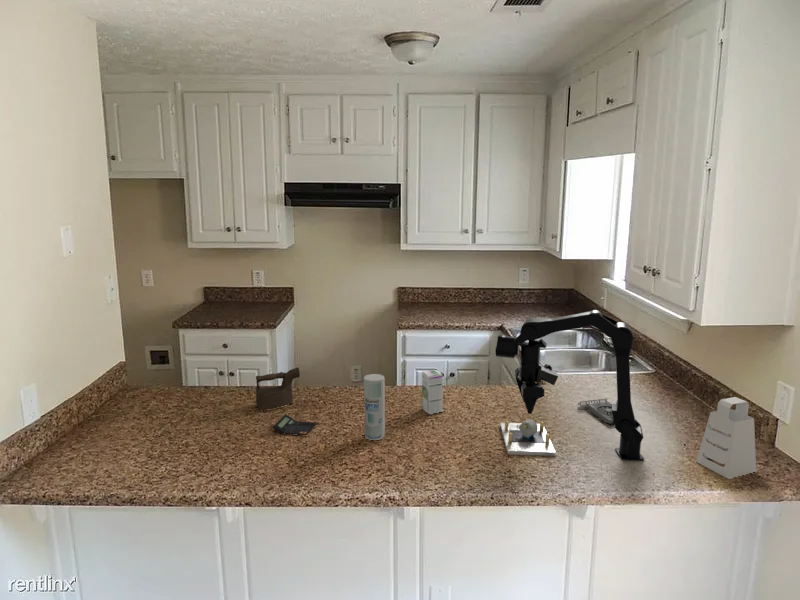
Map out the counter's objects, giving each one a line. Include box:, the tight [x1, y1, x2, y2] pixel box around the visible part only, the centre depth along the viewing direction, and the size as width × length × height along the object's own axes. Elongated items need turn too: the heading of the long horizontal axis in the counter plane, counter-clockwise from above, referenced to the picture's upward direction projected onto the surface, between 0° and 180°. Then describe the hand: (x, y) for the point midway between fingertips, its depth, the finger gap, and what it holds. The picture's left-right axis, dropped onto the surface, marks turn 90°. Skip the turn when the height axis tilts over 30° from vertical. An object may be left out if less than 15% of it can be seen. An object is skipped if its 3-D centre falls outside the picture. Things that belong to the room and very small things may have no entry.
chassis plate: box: [499, 419, 556, 457], centre depth 169 cm, size 20×14×4 cm
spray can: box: [363, 373, 386, 441], centre depth 169 cm, size 6×6×20 cm
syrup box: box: [421, 369, 443, 415], centre depth 190 cm, size 6×6×14 cm
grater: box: [695, 396, 757, 480], centre depth 150 cm, size 10×10×20 cm
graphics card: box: [577, 398, 612, 425], centre depth 187 cm, size 17×4×12 cm
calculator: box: [272, 413, 317, 435], centre depth 177 cm, size 9×12×3 cm
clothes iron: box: [255, 366, 301, 411], centre depth 196 cm, size 8×16×13 cm, turn 113°
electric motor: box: [517, 418, 538, 438], centre depth 168 cm, size 7×5×5 cm
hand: (527, 407), depth 167 cm, fingers open, 9 cm apart
